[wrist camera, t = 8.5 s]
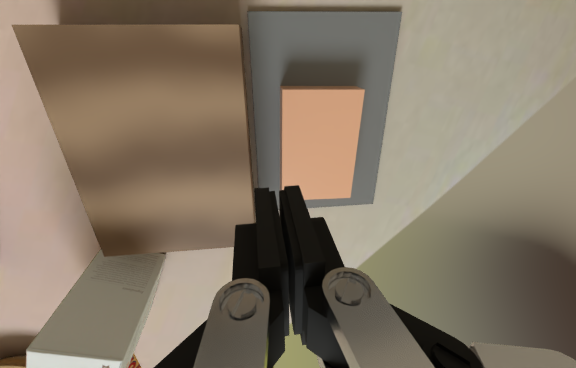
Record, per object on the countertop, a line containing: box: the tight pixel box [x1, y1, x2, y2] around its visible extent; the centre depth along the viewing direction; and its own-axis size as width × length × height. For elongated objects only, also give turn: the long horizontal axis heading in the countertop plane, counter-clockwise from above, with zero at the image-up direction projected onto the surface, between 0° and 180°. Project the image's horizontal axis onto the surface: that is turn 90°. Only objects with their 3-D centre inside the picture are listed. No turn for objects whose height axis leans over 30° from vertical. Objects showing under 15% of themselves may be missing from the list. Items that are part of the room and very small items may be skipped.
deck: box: [12, 24, 256, 257], centre depth 21 cm, size 16×12×4 cm
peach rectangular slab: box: [280, 86, 365, 200], centre depth 22 cm, size 9×6×2 cm, turn 179°
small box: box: [26, 250, 166, 368], centre depth 23 cm, size 8×6×10 cm
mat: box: [248, 11, 402, 210], centre depth 23 cm, size 16×11×1 cm
